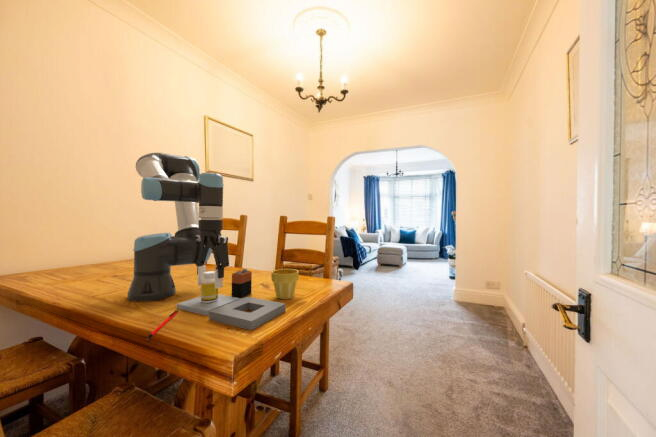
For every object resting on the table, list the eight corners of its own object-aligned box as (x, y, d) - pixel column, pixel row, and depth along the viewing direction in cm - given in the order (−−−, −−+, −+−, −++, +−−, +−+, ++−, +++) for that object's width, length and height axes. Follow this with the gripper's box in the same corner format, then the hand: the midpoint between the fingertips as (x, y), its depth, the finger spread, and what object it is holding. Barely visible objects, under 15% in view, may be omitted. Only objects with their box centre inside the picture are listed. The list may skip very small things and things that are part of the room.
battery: (251, 294, 103) (252, 268, 103) (240, 299, 97) (240, 272, 97) (242, 293, 105) (243, 267, 105) (230, 297, 98) (231, 271, 98)
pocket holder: (209, 319, 78) (209, 311, 77) (247, 303, 92) (247, 296, 92) (251, 330, 71) (251, 321, 71) (285, 311, 85) (285, 303, 85)
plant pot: (266, 295, 102) (266, 270, 102) (289, 291, 108) (290, 267, 108) (279, 302, 94) (279, 275, 94) (303, 297, 100) (303, 271, 100)
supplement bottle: (219, 301, 89) (219, 272, 89) (201, 304, 86) (201, 274, 86) (216, 297, 94) (216, 269, 94) (199, 299, 91) (199, 271, 91)
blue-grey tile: (177, 308, 86) (177, 303, 86) (211, 296, 99) (211, 292, 99) (207, 315, 81) (207, 310, 81) (240, 302, 93) (240, 298, 93)
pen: (179, 312, 84) (179, 309, 84) (149, 340, 65) (149, 336, 65) (176, 312, 84) (176, 309, 84) (145, 340, 65) (145, 336, 65)
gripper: (180, 218, 90) (180, 285, 91) (224, 219, 82) (223, 292, 82) (199, 218, 97) (198, 280, 97) (241, 219, 89) (240, 287, 89)
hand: (210, 286), depth 90 cm, fingers open, 7 cm apart
